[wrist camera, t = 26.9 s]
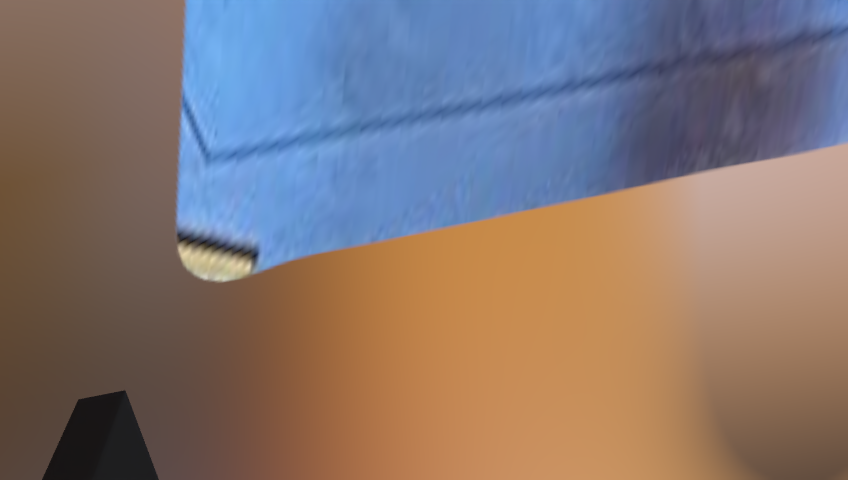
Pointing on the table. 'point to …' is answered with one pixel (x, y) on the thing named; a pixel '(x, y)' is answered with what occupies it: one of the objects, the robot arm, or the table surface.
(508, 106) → the table surface
